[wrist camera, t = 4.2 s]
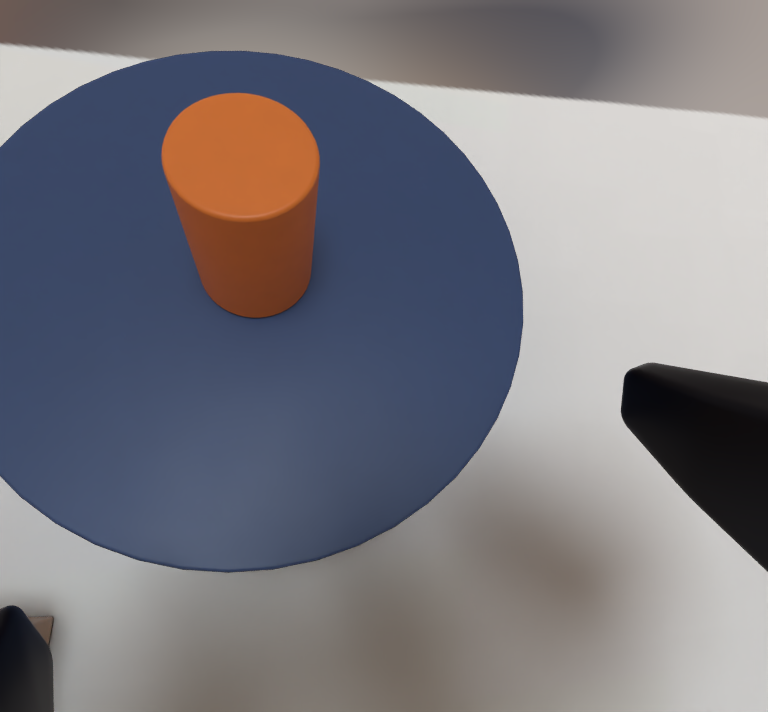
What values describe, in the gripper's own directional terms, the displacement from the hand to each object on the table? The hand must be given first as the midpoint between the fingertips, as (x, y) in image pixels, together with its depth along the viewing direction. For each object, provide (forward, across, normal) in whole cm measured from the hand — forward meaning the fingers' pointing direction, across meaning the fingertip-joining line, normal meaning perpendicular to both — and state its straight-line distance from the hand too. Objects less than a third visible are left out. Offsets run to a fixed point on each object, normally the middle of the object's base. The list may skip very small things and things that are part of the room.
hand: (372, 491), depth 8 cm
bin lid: (+8, 0, 0) cm, 9 cm away
